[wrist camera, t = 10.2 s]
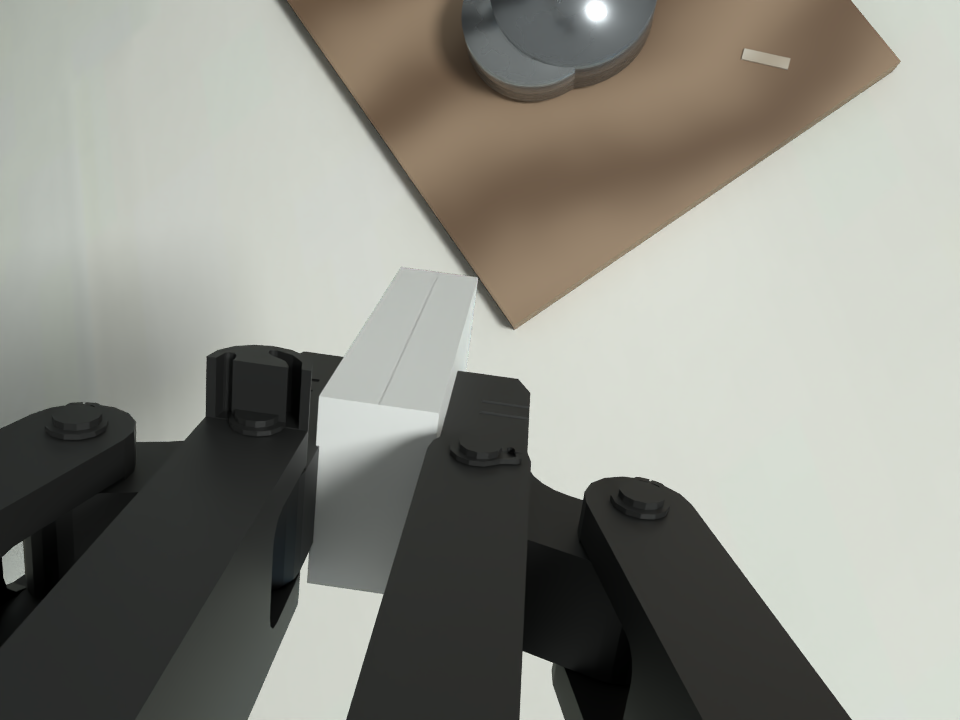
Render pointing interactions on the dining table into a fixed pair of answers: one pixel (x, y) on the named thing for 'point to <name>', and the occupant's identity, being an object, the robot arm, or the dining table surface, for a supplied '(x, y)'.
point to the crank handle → (553, 42)
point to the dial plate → (591, 125)
